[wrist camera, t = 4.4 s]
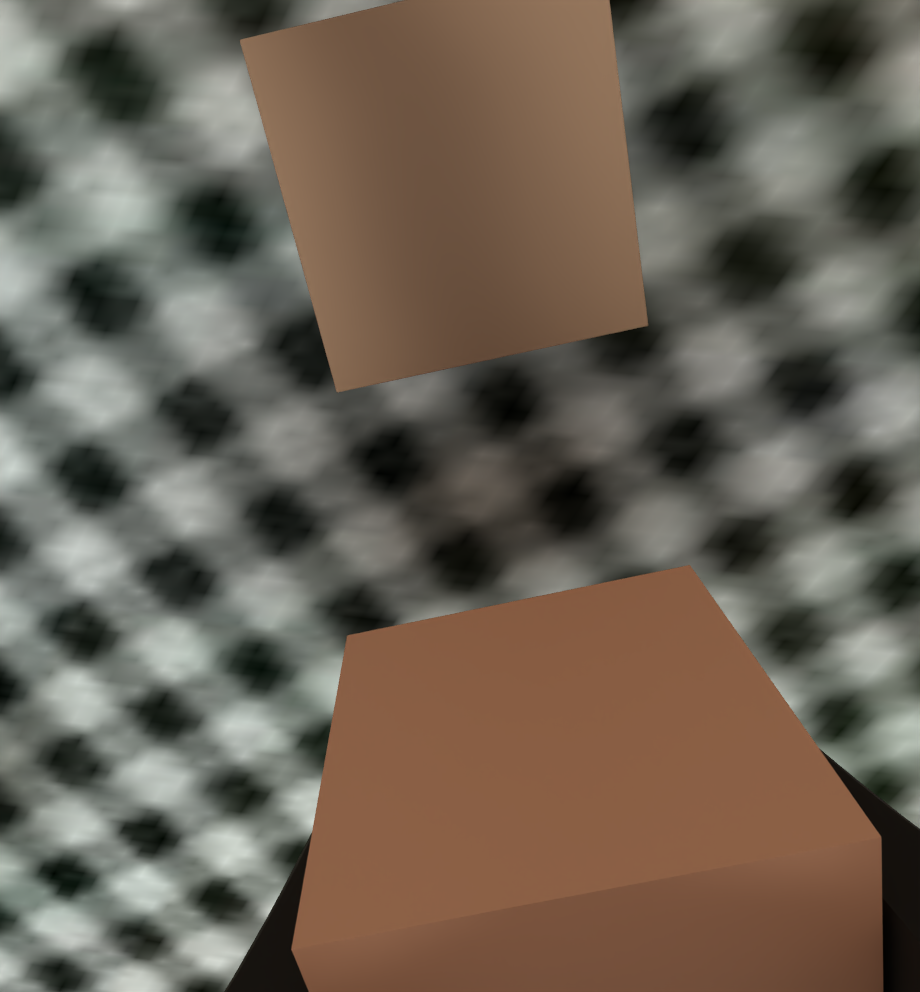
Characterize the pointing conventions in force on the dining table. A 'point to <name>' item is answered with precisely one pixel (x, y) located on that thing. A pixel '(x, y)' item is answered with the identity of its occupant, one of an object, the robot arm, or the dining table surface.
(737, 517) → the dining table surface
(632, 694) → the terracotta block
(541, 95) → the walnut block
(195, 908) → the dining table surface
